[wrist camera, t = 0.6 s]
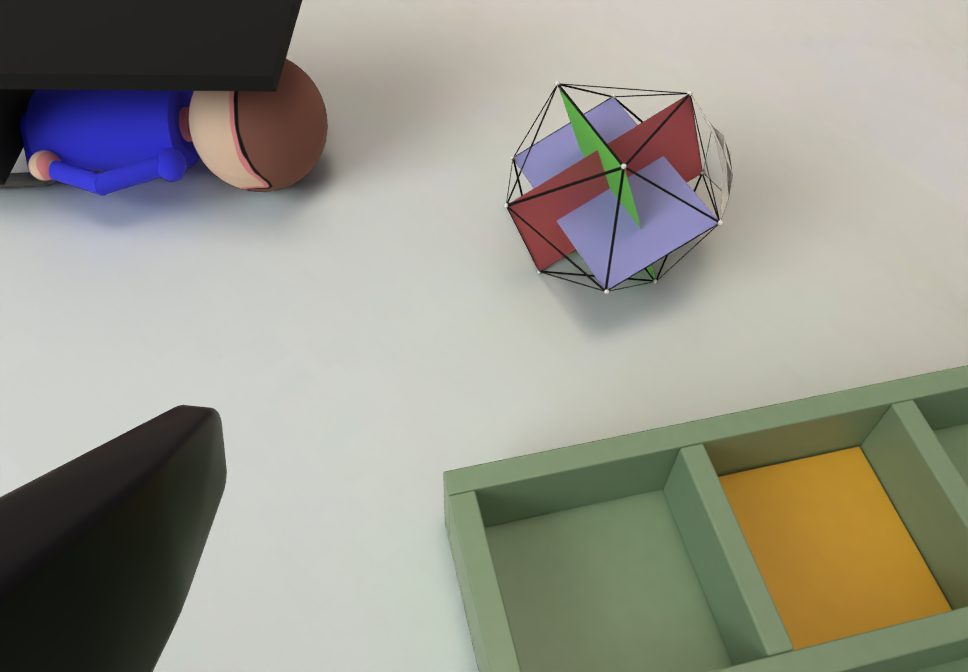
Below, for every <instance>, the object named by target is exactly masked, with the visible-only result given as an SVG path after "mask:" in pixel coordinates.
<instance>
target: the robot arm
mask: <svg viewBox="0 0 968 672" xmlns="http://www.w3.org/2000/svg"><path fill="white" fill-rule="evenodd" d="M226 474H227V470H226V459H225V450H224V440H223V431H222V422H221V418H220V415H219V413H218V412H217V411H216V410H215V409H214V408H208V407H198V406H188V405H180V406H177V407H174V408H172V409H170V410H169V411H167V412H165V413H163V414H161V415H159V416H157V417H155V418H153V419H151V420H149V421H147V422H145V423H143V424H141V425H139V426H138V427H136V428H134V429H132V430H130V431H128V432H126V433H124V434H122V435H120V436H118V437H116V438H114V439H112V440H110V441H108V442H107V443H105V444H103V445H101V446H99V447H97V448H95V449H93V450H91V451H89V452H87V453H85V454H83V455H81V456H79V457H77V458H76V459H74V460H72V461H70V462H68V463H66V464H64V465H62V466H60V467H58V468H56V469H54V470H52V471H50V472H48V473H46V474H44V475H43V476H41V477H39V478H37V479H35V480H33V481H31V482H29V483H27V484H25V485H23V486H21V487H19V488H17V489H15V490H13V491H11V492H10V493H8V494H6V495H4V496H2V497H0V672H153V670H154V668H155V666H156V664H157V662H158V659H159V657H160V655H161V653H162V651H163V649H164V647H165V645H166V643H167V641H168V639H169V637H170V635H171V633H172V631H173V628H174V626H175V624H176V622H177V620H178V617H179V615H180V613H181V611H182V608H183V605H184V603H185V600H186V597H187V595H188V592H189V589H190V586H191V584H192V581H193V578H194V575H195V572H196V569H197V566H198V564H199V561H200V558H201V555H202V552H203V549H204V546H205V544H206V541H207V538H208V535H209V532H210V529H211V526H212V524H213V521H214V518H215V515H216V512H217V509H218V506H219V504H220V501H221V498H222V495H223V492H224V488H225V484H226Z"/></svg>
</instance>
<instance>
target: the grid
mask: <svg viewBox="0 0 968 672" xmlns="http://www.w3.org/2000/svg"><path fill="white" fill-rule="evenodd" d="M443 477H444V509H445V525H446V529H447V534H448V538H449V542H450V547H451V551H452V556H453V560H454V564H455V569H456V573H457V577H458V582H459V586H460V590H461V595H462V599H463V604H464V608H465V612H466V617H467V621H468V625H469V630H470V634H471V639H472V643H473V647H474V652H475V656H476V660H477V665H478V669H479V672H968V365H967V366H962V367H957V368H952V369H947V370H942V371H938V372H933V373H928V374H923V375H918V376H913V377H908V378H903V379H898V380H893V381H888V382H883V383H878V384H874V385H869V386H864V387H859V388H854V389H849V390H844V391H839V392H834V393H829V394H824V395H819V396H814V397H810V398H805V399H800V400H795V401H790V402H785V403H780V404H775V405H770V406H765V407H760V408H755V409H750V410H746V411H741V412H736V413H731V414H726V415H721V416H716V417H711V418H706V419H701V420H696V421H691V422H686V423H682V424H677V425H672V426H667V427H662V428H657V429H652V430H647V431H642V432H637V433H632V434H627V435H622V436H618V437H613V438H608V439H603V440H598V441H593V442H588V443H583V444H578V445H573V446H568V447H563V448H558V449H554V450H549V451H544V452H539V453H534V454H529V455H524V456H519V457H514V458H509V459H504V460H499V461H494V462H489V463H485V464H480V465H475V466H470V467H465V468H460V469H455V470H450V471H445V472H444V473H443Z"/></svg>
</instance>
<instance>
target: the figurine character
mask: <svg viewBox="0 0 968 672" xmlns="http://www.w3.org/2000/svg"><path fill="white" fill-rule="evenodd" d="M301 3H302V0H0V188H8V187H29V186H49V185H51V184H52V183H54V182H56V181H59V182H62V183H65V184H68V185H71V186H74V187H78V188H81V189H84V190H87V191H90V192H93V193H96V194H99V195H106V194H108V193H111V192H114V191H117V190H121V189H124V188H127V187H130V186H134V185H137V184H140V183H143V182H146V181H150V180H153V179H156V178H159V177H162V178H163V179H165V180H167V181H177V180H179V179H181V178H182V177H183V176H184V174H185V172H186V167H187V166H193V165H194V164H195V163H196V162H197V161H198V159H199V157H200V158H201V159H202V161H203V162H204V163H205V165H206V166H207V167H208V168H209V169H210V170H211V171H212V172H213V173H214V174H215V175H216V176H218V177H219V178H220V179H222V180H223V181H225V182H227V183H228V184H230V185H233V186H235V187H237V188H240V189H244V190H248V191H255V192H269V191H275V190H279V189H283V188H286V187H288V186H290V185H292V184H294V183H296V182H297V181H299V180H300V179H302V178H303V177H304V176H305V175H306V174H307V173H308V172H309V171H310V170H311V169H312V168H313V167H314V165H315V164H316V163H317V161H318V159H319V157H320V155H321V153H322V151H323V148H324V145H325V141H326V136H327V114H326V109H325V105H324V102H323V99H322V97H321V94H320V92H319V90H318V89H317V87H316V85H315V84H314V82H313V81H312V80H311V78H310V77H309V76H308V75H307V74H306V73H305V72H304V71H303V70H302V69H301V68H300V67H298V66H297V65H296V64H294V63H293V62H291V61H289V60H287V59H286V56H287V52H288V48H289V45H290V41H291V38H292V34H293V31H294V27H295V24H296V20H297V17H298V13H299V10H300V6H301ZM23 147H24V150H25V155H26V160H27V165H28V169H29V172H28V173H11V171H12V169H13V167H14V165H15V163H16V161H17V159H18V157H19V155H20V153H21V151H22V149H23ZM105 170H108V171H105ZM92 171H105V172H102V173H95V172H92Z"/></svg>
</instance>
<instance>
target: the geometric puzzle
mask: <svg viewBox="0 0 968 672" xmlns="http://www.w3.org/2000/svg"><path fill="white" fill-rule="evenodd" d="M555 85H556V87H555V88H554V90H553V92H552V93H553V94H552V93H551V95H552V97H551V95H550V97H551V99H550V102H549V104H548V106H547V109H546V111H545V113H544V116H543V118H542V121H541V123H540V125H539V128H538V130H537V132H536V135H535V137H534V140H533V142H532V144H531V147H529V148H527V149H526V150H524V151H523V152H521V153H519V154H518V155H516V153H517V152H518V150H519V148H520V147H521V145H522V143H523V142H524V140H525V138H526V137H527V135H528V133H529V132H530V130H531V128H532V127H533V125H534V123H535V122H536V120H537V118H538V117H539V115H540V113H541V112H542V110H543V108H544V107H545V105H546V103H547V102H548V100H549V98H550V97H549V98H548V100H547V102H546V103H545V105H544V107H543V108H542V110H541V112H540V113H539V115H538V117H537V118H536V120H535V122H534V123H533V125H532V127H531V128H530V130H529V132H528V133H527V135H526V137H525V138H524V140H523V142H522V143H521V145H520V147H519V148H518V150H517V152H516V153H515V155H516V156H515V155H514V156H512V157H511V159H512V163H514V167H515V171H516V175H517V180H516V182H515V185H514V187H513V189H512V192H511V194H510V197H509V199H508V194H507V199H508V201H506V203H504V205H503V206H504V208H507V209H508V211H509V213H510V215H511V217H512V219H513V221H514V223H515V225H516V227H517V229H518V231H519V233H520V235H521V237H522V239H523V241H524V243H525V245H526V247H527V249H528V251H529V253H530V255H531V257H532V259H533V261H534V263H535V265H536V267H537V269H538V270H537V273H544V274H547V273H556V274H568V275H580V276H587V277H588V278H589V279H591V280H592V281H593V282H594V283H595V284H596V285H597V286H599V287H600V288H601V289H602V290H601V289H598V288H594V287H591V286H588V285H584V284H581V283H578V282H574V281H571V280H568V279H564V278H561V277H558V278H561V279H564V280H568V281H571V282H574V283H578V284H581V285H584V286H588V287H591V288H594V289H598V290H601V291H604V293H605V294H608V293H609V290H610V289H612V288H614V287H615V286H617V285H619V284H620V283H622V282H624V281H625V280H627V279H628V280H640V281H652V282H653V283H655V284H656V283H657V282H658V280H659V279H660V278H661V277H662V276H663V275H664V274H665V273H666V272H667V271H668V270H667V271H666V272H665V273H664V274H663V275H662V276H661V277H660V278H659V279H658V277H659V275H660V273H661V270H662V268H663V266H664V263H665V261H666V259H667V256H668V254H670V253H672V252H673V251H675V250H677V249H678V248H680V247H682V246H683V245H685V244H687V243H688V242H690V241H692V240H693V239H695V238H697V237H698V236H700V235H702V234H703V233H705V232H707V231H708V230H710V229H712V228H713V227H714V228H715V226H716V227H717V226H718V225H722V224H723V221H722V217H723V214H724V211H725V208H726V205H727V202H728V199H729V195H728V192H729V194H730V188H731V182H732V176H733V174H732V167H731V160H730V154H729V151H728V148H727V145H725V144H726V142H725V139H724V136H723V135H722V134H721V133H719V132H718V131H717V130H716V129H715V128H714V127H713V126H712V125H711V123H710V122H709V120H708V119H707V117H706V116H705V114H704V113H703V111H702V110H701V108H700V107H699V105H698V104H697V102H696V101H695V99H694V98H693V99H694V101H695V102H696V104H697V106H698V108H699V109H700V111H701V113H702V115H703V117H704V118H705V120H706V122H707V124H708V125H709V127H710V129H711V135H710V140H709V144H708V149H707V154H706V158H705V154H704V150H703V154H704V158H705V164H704V169H703V170H702V165H701V158H700V151H699V145H698V138H697V132H696V125H695V119H696V115H695V111H694V107H693V102H692V98H691V96H692V92H691V91H689V92H688V93H681V92H669V93H679V94H687V96H685V97H683V98H682V99H680V100H678V101H677V102H675V103H674V104H672V105H670V106H669V107H667V108H665V109H664V110H662V111H660V112H659V113H657V114H656V115H654V116H652V117H651V118H649V119H647V120H646V121H644V122H643V121H642V120H641V119H640V118H638V117H637V116H636V115H635V114H634V113H633V112H631V111H630V110H629V109H628V108H627V107H626V106H624V105H623V104H622V103H621V102H620V101H619V100H617V99H616V97H631V96H615V95H612V96H610V95H606V94H602V93H597V92H593V91H589V90H585V89H581V88H576V87H572V86H568V85H573V84H560V82H559V81H556V82H555ZM557 86H558V87H559V90H560V92H561V95H562V98H563V101H564V104H565V107H566V110H567V113H568V116H569V119H570V123H568V124H567V125H565V126H563V127H562V128H560V129H558V130H557V131H555V132H554V133H552V134H550V135H549V136H547V137H545V138H544V139H542V140H541V141H539V142H537V143H536V144H534V145H533V143H534V141H535V138H536V136H537V134H538V131H539V129H540V127H541V124H542V122H543V119H544V117H545V115H546V112H547V110H548V108H549V105H550V103H551V100H552V98H553V96H554V93H555V91H556V89H557ZM561 86H565V87H569V88H574V89H578V90H582V91H586V92H591V93H595V94H599V95H604V96H608V97H611V98H609V99H607V100H606V101H604V102H603V103H601V104H599V105H598V106H596V107H594V108H593V109H591V110H589V111H588V112H586V113H585V114H583V113H582V112H581V110H580V109H579V108H578V107H577V105H576V104H575V103H574V102H573V100H572V99H571V98H570V97H569V95H568V94H567V93H566V92H565V90H564V89H563V88H562V87H561ZM575 86H586V85H575ZM589 87H600V86H589ZM602 88H613V87H602ZM616 89H627V88H616ZM629 90H640V89H629ZM643 91H654V90H643ZM656 92H667V91H656ZM679 94H655V95H679ZM655 95H632V96H655ZM692 97H693V96H692ZM622 106H623V107H624V108H625V109H626V110H627V111H628V112H630V113H631V114H632V115H633V116H634V117H635V118H637V119H638V120H639V121H640V122H641V124H639V125H637V124H636V123H635V122H634V120H633V119H632V118H631V117H630V116H629V114H628V113H627V112H626V111H625V110H624V109H623V107H622ZM693 111H694V112H693ZM694 115H695V119H694ZM696 124H697V120H696ZM697 128H698V124H697ZM698 132H699V128H698ZM699 136H700V133H699ZM700 141H701V137H700ZM701 145H702V141H701ZM726 148H727V149H726ZM702 149H703V145H702ZM724 156H725V159H726V163H727V177H726V169H725V160H724ZM515 162H516V164H517V165H518V167H519V168H520V169H521V170H520V173H519V175H518V172H517V168H516V164H515ZM511 170H512V166H511ZM521 172H523V174H524V175H525V177H526V178H527V179H528V181H529V182H530V184H531V185H532V187H533V188H534V189H533V190H531V191H529V192H528V193H526V194H524V195H523V194H522V189H521V185H520V181H519V176H520V174H521ZM703 174H704V175H705V176H706V177H707V178H709V180H710V184H711V181H712V182H713V183H714V184H715V185H716V186H717V187H718V188H719V189H720V190H721V191H722V200H721V220H720V219H719V215H718V210H717V206H716V202H715V206H716V208H715V206H714V203H713V200H712V197H711V194H710V191H709V189H708V186H707V183H706V180H705V177H704V175H703ZM699 175H700V177H699V179H698V182H697V184H696V186H695V189H694V191H693V190H692V189H691V188H690V186H689V185H688V184H687V182H688V181H690V180H692V179H693V178H695V177H697V176H699ZM702 176H703V179H704V181H705V184H706V187H707V190H708V193H709V196H710V198H711V201H712V204H713V207H714V210H715V213H716V215H717V218H718V219H717V218H716V217H715V216H714V215H713V214H712V212H711V211H710V210H709V209H708V208H707V207H706V205H705V204H704V203H703V202H702V201H701V199H700V198H699V197H698V196H697V195H696V194H695V191H696V188H697V186H698V184H699V181H700V179H701V177H702ZM510 177H511V173H510ZM727 178H728V186H727ZM517 181H518V184H519V188H520V193H521V197H519V198H518V199H516V200H515V201H513V202H511V203H509V200H510V198H511V195H512V193H513V191H514V188H515V186H516V184H517ZM509 184H510V180H509ZM711 188H712V184H711ZM508 191H509V187H508ZM712 193H713V189H712ZM713 197H714V193H713ZM714 201H715V197H714ZM508 203H509V204H508ZM716 210H717V211H716ZM714 228H713V229H714ZM713 229H712V230H713ZM712 230H711V231H712ZM711 231H710V232H711ZM710 232H709V233H710ZM709 233H708V234H709ZM708 234H707V235H708ZM707 235H706V236H707ZM706 236H705V237H706ZM705 237H703V238H705ZM703 238H702V239H703ZM702 239H701V240H702ZM701 240H700V241H701ZM700 241H699V242H700ZM699 242H698V243H699ZM698 243H697V244H698ZM697 244H696V245H697ZM696 245H695V246H696ZM695 246H694V247H695ZM694 247H693V248H694ZM691 249H692V248H691ZM691 249H690V250H691ZM574 250H577V251H578V253H579V254H580V256H581V257H582V258H583V260H584V261H585V263H586V264H587V266H588V267H589V268H590V270H591V271H592V273H593V274H594V275H588V274H587V273H586V272H584V271H583V270H582V269H581V268H580V267H579V266H577V265H576V264H575V263H574V262H573V261H572V260H570V259H569V258H568V257H567V256H566V255H568V254H570V253H571V252H573V251H574ZM690 250H689V251H690ZM689 251H688V252H689ZM688 252H687V253H688ZM687 253H686V254H687ZM686 254H685V255H686ZM685 255H684V256H685ZM665 256H666V257H665ZM684 256H683V257H684ZM563 257H565V258H566V259H567V260H568V261H570V262H571V263H572V264H573V265H574V266H575V267H577V268H578V269H579V270H580V271H581V272H582V273H584V274H574V273H562V272H550V271H543V269H545V268H546V267H548V266H550V265H551V264H553V263H555V262H556V261H558V260H560V259H561V258H563ZM663 257H665V259H664V261H663V264H662V266H661V268H660V271H659V273H658V275H657V278H655V275H654V272H653V268H652V264H653V263H655V262H657V261H658V260H660V259H662V258H663ZM683 257H682V258H683ZM682 258H681V259H682ZM679 260H680V259H679ZM679 260H678V261H679ZM678 261H677V262H678ZM677 262H676V263H677ZM676 263H675V264H676ZM675 264H674V265H675ZM674 265H673V266H674ZM673 266H672V267H673ZM672 267H671V268H672ZM671 268H670V269H671ZM644 269H645V270H646V271H647V272H648V274H649V275H650V277H651V278H652V279H653V280H647V279H635V278H630V277H632V276H634V275H635V274H637V273H639V272H640V271H642V270H644ZM548 275H551V274H548ZM551 276H554V275H551ZM590 276H592V277H596V279H597V280H598V281H599V283H600V284H601V285H599V284H598V283H597V282H596V281H595V280H594V279H593V278H591V277H590ZM554 277H557V276H554ZM652 282H649V283H652ZM644 284H647V283H644ZM639 285H642V284H639ZM634 286H637V285H634ZM629 287H632V286H629ZM625 288H628V287H625ZM620 289H623V288H620ZM615 290H618V289H615ZM610 291H613V290H610Z"/></svg>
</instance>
